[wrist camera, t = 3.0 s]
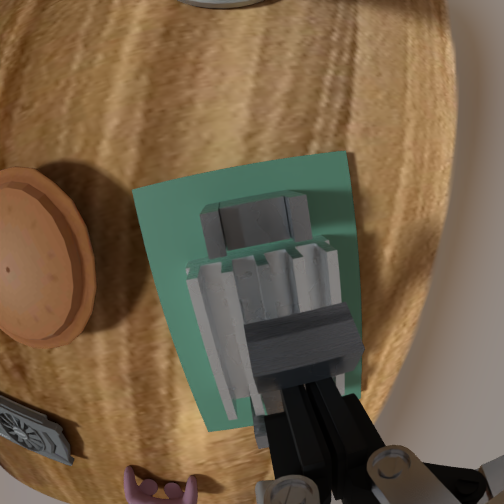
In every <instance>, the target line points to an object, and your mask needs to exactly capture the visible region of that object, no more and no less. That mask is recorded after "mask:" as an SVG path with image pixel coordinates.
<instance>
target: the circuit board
mask: <svg viewBox="0 0 504 504" xmlns="http://www.w3.org/2000/svg"><path fill="white" fill-rule="evenodd" d="M281 190H289V191H293V192H297V193H302V194H306V196H307V202H308V209H309V216H310V223H311V230H312V236H316V235H322V236H323V237H325V238H326V239H328V240H329V243H330V245H331V246H332V247H334V248H335V249H337V254H338V264H339V275H340V288H341V301H342V302H346V303H347V305H348V308H349V310H350V313H351V315H352V318H353V320H354V323H355V325H356V328H357V330H358V333H359V335H360V338H361V340H362V313H361V287H360V269H359V255H358V243H357V232H356V222H355V213H354V204H353V196H352V188H351V181H350V174H349V167H348V161H347V155H346V151H338V152H329V153H321V154H313V155H305V156H298V157H291V158H284V159H278V160H271V161H265V162H259V163H253V164H248V165H242V166H236V167H231V168H226V169H221V170H216V171H211V172H206V173H201V174H196V175H192V176H187V177H183V178H178V179H174V180H170V181H165V182H161V183H157V184H153V185H149V186H145V187H141V188H137V189H134V190H132V192H133V197H134V202H135V206H136V211H137V215H138V220H139V224H140V228H141V232H142V236H143V240H144V244H145V248H146V252H147V256H148V260H149V264H150V267H151V271H152V274H153V278H154V281H155V285H156V288H157V292H158V295H159V298H160V302H161V305H162V308H163V311H164V315H165V318H166V321H167V324H168V327H169V330H170V333H171V336H172V339H173V342H174V345H175V348H176V351H177V353H178V356H179V359H180V362H181V364H182V367H183V370H184V373H185V375H186V378H187V381H188V383H189V386H190V388H191V391H192V393H193V396H194V398H195V401H196V403H197V406H198V408H199V411H200V413H201V415H202V418H203V420H204V422H205V425H206V427H207V429H208V432H212V431H220V430H227V429H234V428H241V427H247V426H253V418H252V410H251V403H250V397H245V398H239V399H236V404H237V417H238V419H235V420H229V419H228V417H227V414H226V411H225V408H224V405H223V402H222V399H221V396H220V393H219V390H218V387H217V384H216V381H215V378H214V375H213V372H212V369H211V366H210V362H209V359H208V356H207V353H206V350H205V346H204V343H203V340H202V336H201V333H200V329H199V326H198V322H197V319H196V315H195V312H194V308H193V305H192V301H191V297H190V294H189V290H188V286H187V282H186V279H187V273H186V269H185V268H186V266H187V263H188V261H189V260H194V259H199V258H204V257H208V253H207V248H206V244H205V239H204V234H203V230H202V225H201V220H200V216H199V214H200V213H201V211H202V210H203V208H204V207H205V205H207V204H212V203H217V202H222V201H227V200H232V199H237V198H242V197H248V196H253V195H259V194H264V193H270V192H275V191H281ZM290 240H292V239H291V238H290V239H286V240H281V241H276V242H271V243H266V244H261V245H256V246H250V247H245V248H240V249H235V250H230V251H228V250H227V253H229V252H235V251H240V250H245V249H250V248H255V247H260V246H265V245H270V244H275V243H280V242H285V241H290ZM361 374H362V356H361V358H360V360H359V362H358V364H357V365H356V367H355V369H354V370H353V371H350V372H347V373H345V395H349V394H352V393H354V394H355V395H356V396H357V397H358V399H361ZM345 395H342V396H345ZM261 396H262V395H261ZM262 401H263V398H262ZM263 406H264V412H265V415H267V412H266V408H265V405H264V401H263Z"/></svg>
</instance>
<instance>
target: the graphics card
mask: <svg viewBox="0 0 504 504" xmlns="http://www.w3.org/2000/svg"><path fill="white" fill-rule="evenodd" d="M5 419H6V420H5ZM62 430H63V428H62V427H61V426H60V425H59V424H57V423H54V422H51V421H49V420H48V419H47V416H46V415H44V414H42V413H39V412H37V411H34V410H32V409H30V408H27V407H25V406H23V405H21V404H18V403H16V402H14V401H12V400H10V399H8V398H6V397H3V396H1V395H0V435H1V436H2V437H4V438H6V439H8V440H10V441H12V442H14V443H16V444H18V445H21V446H23V447H25V448H27V449H28V450H31V451H34V452H36V453H38V454H41V455H43V456H46V457H48V458H51V459H53V460H56V461H58V462H61V463H64V464H67V465H69V466H71V465H72V464H73V462H74V458H73V457H71V456H70V444H69V443H68V441H67V440H66V438H65V437H64V435H63V433H62Z"/></svg>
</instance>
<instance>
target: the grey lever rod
mask: <svg viewBox="0 0 504 504" xmlns="http://www.w3.org/2000/svg"><path fill="white" fill-rule="evenodd" d="M244 331H245V336H246V342H247V347H248V352H249V358H250V363H251V368H252V373H253V378H254V381H255V384H256V387H257V391H258V394H261V395H262V398H263V401H264V405H265V408H266V412H267V415H270V414H275V413H280V412H284V410H283V404H282V399H281V393H280V390H281V389H285V388H289V387H294V386H298V385H302V384H304V387H305V384H306V383H310V382H314V381H318V380H322V379H326V378H329V377H333V376H336V375H340V374H343V373H347V372H350V371H353V370H354V369H355V367H356V365H357V364H358V362H359V360H360V358H361V356H362V354H363V352H364V350H365V348H364V345H363V343H362V340H361V338H360V335H359V333H358V330H357V328H356V325H355V323H354V320H353V318H352V315H351V313H350V310H349V308H348V305H347V303H346V302H342V303H338V304H334V305H330V306H326V307H322V308H318V309H313V310H309V311H305V312H301V313H296V314H292V315H287V316H283V317H278V318H273V319H269V320H264V321H259V322H254V323H249V324H244ZM305 389H306V387H305Z"/></svg>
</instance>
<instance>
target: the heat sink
mask: <svg viewBox="0 0 504 504" xmlns="http://www.w3.org/2000/svg"><path fill="white" fill-rule="evenodd" d="M199 216H200V220H201V225H202V230H203V234H204V239H205V244H206V248H207V253H208V257H204V258H199V259H194V260H189V261H188V263H187V266H186V268H185V269H186V273H187V279H186V282H187V286H188V290H189V294H190V297H191V301H192V305H193V308H194V312H195V315H196V319H197V322H198V326H199V329H200V333H201V336H202V340H203V343H204V346H205V350H206V353H207V356H208V359H209V362H210V366H211V369H212V372H213V375H214V378H215V381H216V384H217V387H218V390H219V393H220V396H221V399H222V402H223V405H224V408H225V411H226V414H227V417H228V419H229V420H235V419H238V417H237V404H236V399H239V398H245V397H250V403H251V410H252V418H253V425H254V432H255V438H256V442H257V445H258V448H259V449H261V448H266V447H269V444H268V438H267V433H266V427H265V422H264V416H265V412H264V406H263V401H262V396H261V394H258V391H257V387H256V384H255V381H254V378H253V373H252V368H251V363H250V358H249V352H248V347H247V342H246V336H245V331H244V324H249V323H254V322H259V321H264V320H269V319H273V318H278V317H283V316H287V315H292V314H296V313H301V312H305V311H309V310H313V309H318V308H322V307H326V306H330V305H334V304H338V303H342V301H341V288H340V275H339V264H338V254H337V249H335V248H334V247H332V246H331V245H330V243H329V240H328V239H326V238H325V237H323V236H322V235H316V236H312V230H311V223H310V216H309V209H308V202H307V196H306V194H302V193H297V192H293V191H289V190H281V191H275V192H270V193H264V194H259V195H253V196H248V197H242V198H237V199H232V200H227V201H222V202H217V203H212V204H207V205H205V207H204V208H203V210H202V211H201V213H200V214H199ZM290 238H291V239H292V240H290V241H285V242H280V243H275V244H270V245H265V246H260V247H255V248H250V249H245V250H240V251H235V252H229V253H227V250H228V251H230V250H235V249H240V248H245V247H250V246H256V245H261V244H266V243H271V242H276V241H281V240H286V239H290ZM332 379H333V381H334V383H335V384H336V386H337V388H338V390H339V392H340V394H341V396H342V395H345V373H343V374H340V375H336V376H333V377H332Z"/></svg>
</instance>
